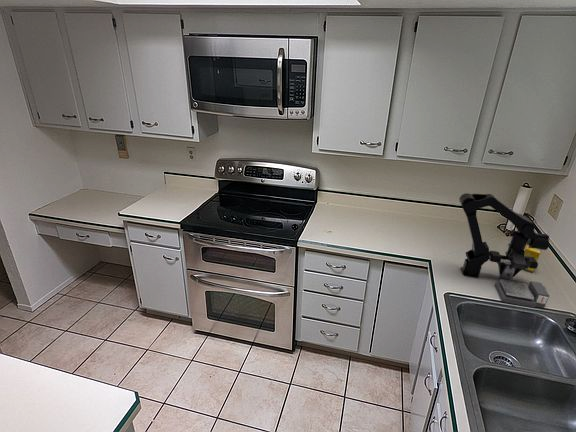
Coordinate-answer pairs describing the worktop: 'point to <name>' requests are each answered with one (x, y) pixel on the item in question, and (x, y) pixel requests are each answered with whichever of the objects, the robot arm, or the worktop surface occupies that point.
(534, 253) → the supplement box
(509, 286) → the pan
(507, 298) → the dark grey u-shaped piece
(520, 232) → the robot arm
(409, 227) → the worktop surface
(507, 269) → the cylinder
